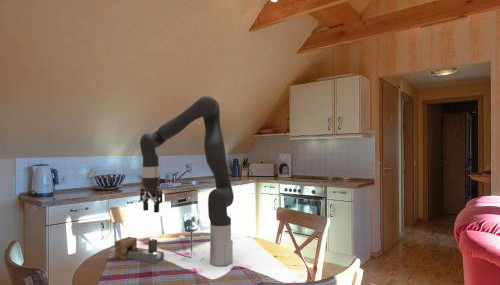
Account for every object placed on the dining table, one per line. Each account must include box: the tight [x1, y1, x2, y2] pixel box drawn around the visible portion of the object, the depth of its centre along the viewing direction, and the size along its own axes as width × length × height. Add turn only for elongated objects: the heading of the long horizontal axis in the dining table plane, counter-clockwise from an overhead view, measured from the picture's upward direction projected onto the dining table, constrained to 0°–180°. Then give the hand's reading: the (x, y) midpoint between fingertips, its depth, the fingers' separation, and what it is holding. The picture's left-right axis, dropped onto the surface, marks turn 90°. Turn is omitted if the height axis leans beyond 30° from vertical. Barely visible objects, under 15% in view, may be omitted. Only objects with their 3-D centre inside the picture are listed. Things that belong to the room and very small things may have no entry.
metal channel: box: [127, 247, 165, 265], centre depth 149 cm, size 16×6×4 cm, turn 66°
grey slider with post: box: [136, 238, 162, 259], centre depth 148 cm, size 13×3×8 cm, turn 66°
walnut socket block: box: [114, 236, 138, 260], centre depth 154 cm, size 5×8×8 cm, turn 156°
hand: (151, 211), depth 151 cm, fingers open, 8 cm apart
